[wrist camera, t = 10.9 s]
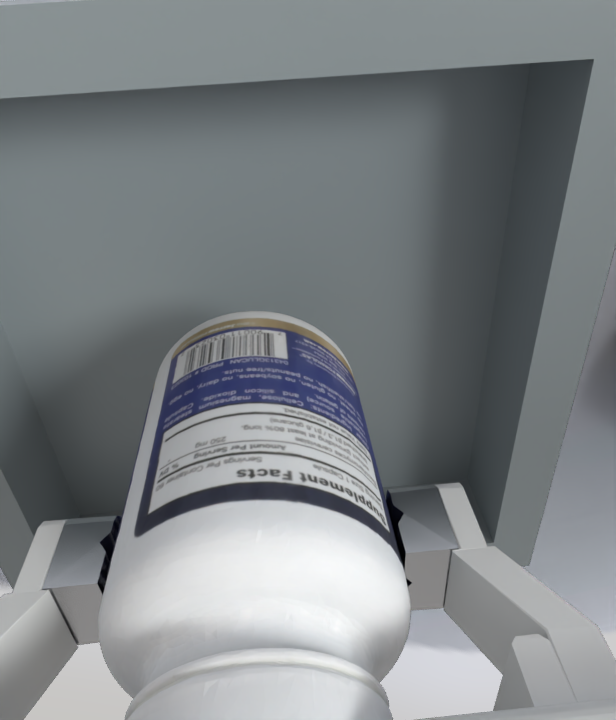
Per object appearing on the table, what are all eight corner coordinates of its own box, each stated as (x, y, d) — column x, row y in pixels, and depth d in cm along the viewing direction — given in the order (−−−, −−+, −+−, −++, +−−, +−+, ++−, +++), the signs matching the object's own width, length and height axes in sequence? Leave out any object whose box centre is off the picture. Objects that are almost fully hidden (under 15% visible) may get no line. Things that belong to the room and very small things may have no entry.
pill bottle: (290, 486, 18) (318, 914, 10) (124, 422, 16) (-14, 885, 8) (394, 359, 15) (547, 784, 7) (213, 266, 14) (150, 699, 5)
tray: (589, -36, 14) (692, -38, 11) (491, 483, 24) (529, 565, 21) (-170, 10, 13) (-310, 24, 10) (59, 523, 24) (27, 613, 20)
